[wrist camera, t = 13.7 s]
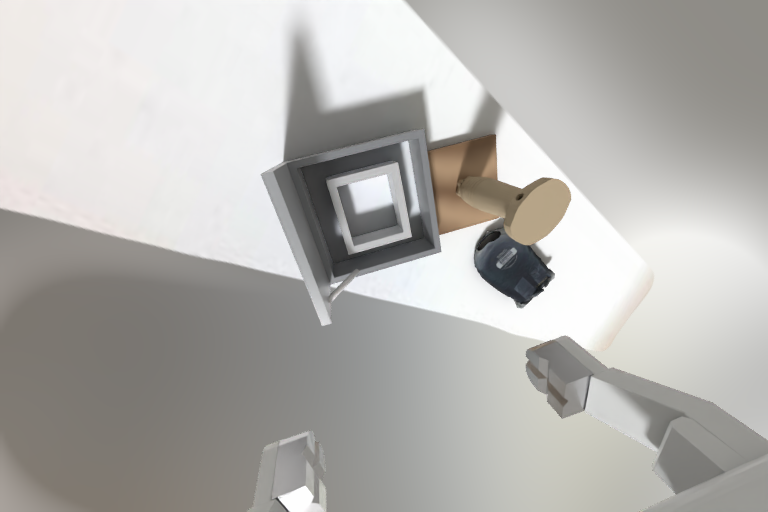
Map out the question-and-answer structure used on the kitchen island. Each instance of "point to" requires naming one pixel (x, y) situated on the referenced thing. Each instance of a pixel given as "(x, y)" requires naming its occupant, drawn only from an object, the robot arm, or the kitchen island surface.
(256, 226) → the kitchen island surface
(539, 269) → the electronic device
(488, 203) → the handle
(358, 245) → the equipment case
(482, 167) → the walnut pad
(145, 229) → the kitchen island surface
